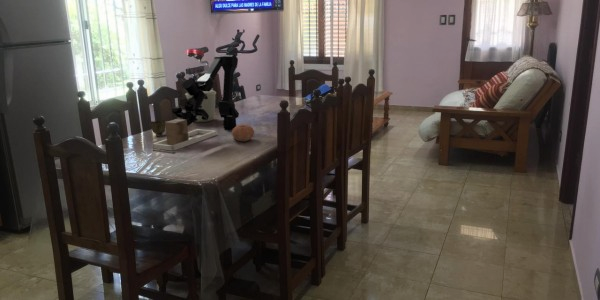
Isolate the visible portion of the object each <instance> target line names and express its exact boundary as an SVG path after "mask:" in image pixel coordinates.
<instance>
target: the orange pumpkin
mask: <svg viewBox="0 0 600 300" xmlns="http://www.w3.org/2000/svg"><path fill="white" fill-rule="evenodd" d="M231 130H232V131H231V136H232V138H233V139H234V140H236V141H238V142H243V143H244V142H248V141H250V140H252V139H253V138H254V135H255V130H254V129H253V127H252V126H250V125H248V124H240V125H236V127H235V128H234V129H231Z"/></svg>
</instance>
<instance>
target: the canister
mask: <svg viewBox="0 0 600 300" xmlns="http://www.w3.org/2000/svg"><path fill="white" fill-rule="evenodd" d="M203 92H204V93H205V94H207V97H208V99H204V100H203V102H202V104H201V106H202V108H199V109H204V110H205V111H206V112H207V113H208V115H209V118H208V120H203V119H202V116H199V117H198V118H197V119H198V120H197V121H195V122H194V123H206V122H212V121H213V120H214V119H215V115H216V114H215V113H216V95H217V91H215V90H214V89H211V90H210V91H203ZM184 95H185V97H186V99H189V98H191V97H192V96H191V95H189V94H188V93H187V92H185V93H184Z"/></svg>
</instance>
